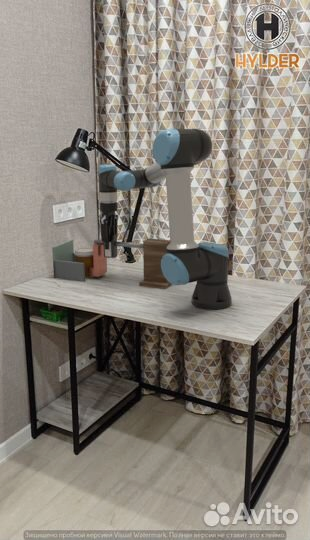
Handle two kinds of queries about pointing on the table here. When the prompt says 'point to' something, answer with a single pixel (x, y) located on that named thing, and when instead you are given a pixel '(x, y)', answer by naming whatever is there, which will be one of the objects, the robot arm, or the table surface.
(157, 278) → the brown wooden flanged block
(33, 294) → the table surface
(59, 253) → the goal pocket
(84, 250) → the disposable coffee cup
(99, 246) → the player rod
